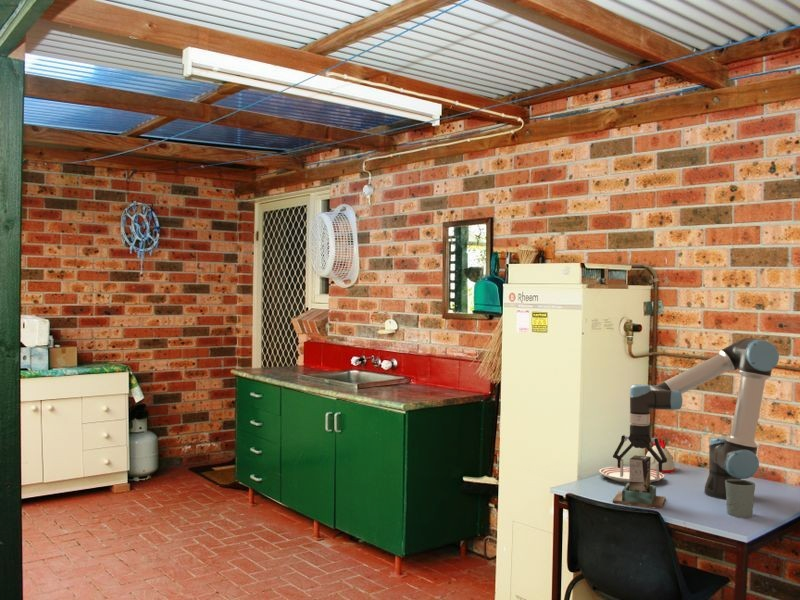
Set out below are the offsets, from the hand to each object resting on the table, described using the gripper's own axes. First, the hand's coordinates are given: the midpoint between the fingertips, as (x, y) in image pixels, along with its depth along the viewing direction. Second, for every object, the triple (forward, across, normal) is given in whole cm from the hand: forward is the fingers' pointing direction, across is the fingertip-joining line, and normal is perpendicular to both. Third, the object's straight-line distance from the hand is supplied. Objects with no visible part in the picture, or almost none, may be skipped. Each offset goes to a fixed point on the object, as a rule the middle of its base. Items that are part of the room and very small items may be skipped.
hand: (639, 478), depth 291 cm
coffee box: (+8, 0, 0) cm, 8 cm away
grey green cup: (+9, +36, -2) cm, 37 cm away
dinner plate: (+9, -8, +36) cm, 38 cm away
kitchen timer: (+9, +1, +60) cm, 61 cm away
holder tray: (+9, 0, 0) cm, 9 cm away
